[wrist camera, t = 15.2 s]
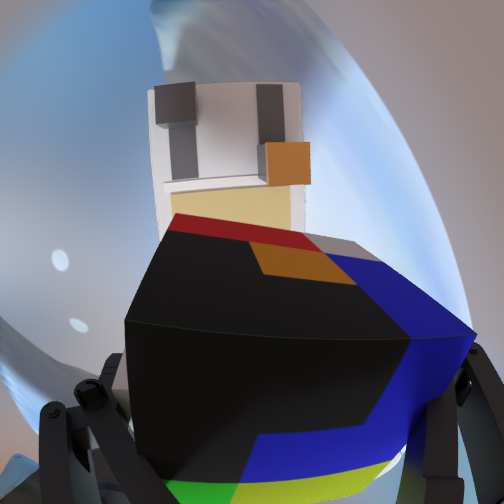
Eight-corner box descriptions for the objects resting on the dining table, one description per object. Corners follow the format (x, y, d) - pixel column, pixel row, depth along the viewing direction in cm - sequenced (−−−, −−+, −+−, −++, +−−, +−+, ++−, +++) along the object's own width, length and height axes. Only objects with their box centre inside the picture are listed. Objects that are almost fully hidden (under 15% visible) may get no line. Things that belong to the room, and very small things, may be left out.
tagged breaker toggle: (257, 179, 26) (268, 186, 21) (255, 144, 25) (267, 142, 20) (291, 177, 26) (310, 184, 21) (290, 143, 25) (309, 142, 20)
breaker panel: (172, 294, 31) (170, 304, 29) (151, 94, 24) (147, 89, 22) (298, 282, 33) (304, 290, 31) (294, 86, 26) (301, 82, 24)
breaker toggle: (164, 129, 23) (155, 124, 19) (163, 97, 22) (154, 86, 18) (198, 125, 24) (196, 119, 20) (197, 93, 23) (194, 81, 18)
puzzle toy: (353, 241, 16) (477, 334, 7) (308, 375, 19) (359, 492, 10) (175, 212, 15) (124, 320, 5) (162, 366, 17) (148, 505, 8)
